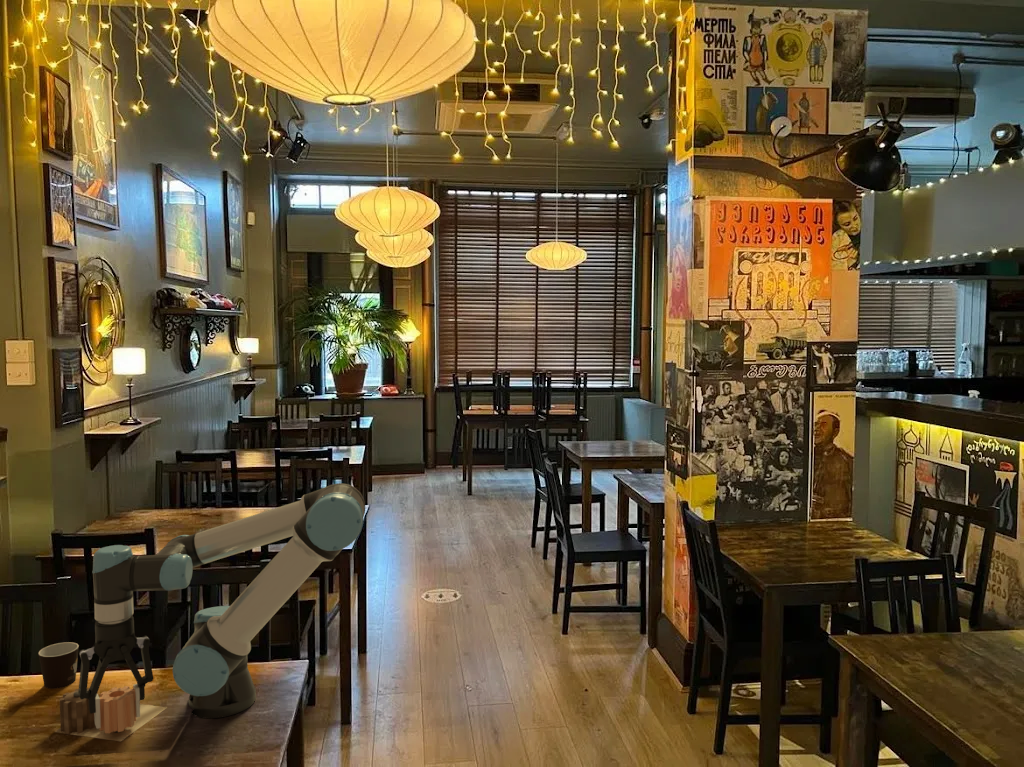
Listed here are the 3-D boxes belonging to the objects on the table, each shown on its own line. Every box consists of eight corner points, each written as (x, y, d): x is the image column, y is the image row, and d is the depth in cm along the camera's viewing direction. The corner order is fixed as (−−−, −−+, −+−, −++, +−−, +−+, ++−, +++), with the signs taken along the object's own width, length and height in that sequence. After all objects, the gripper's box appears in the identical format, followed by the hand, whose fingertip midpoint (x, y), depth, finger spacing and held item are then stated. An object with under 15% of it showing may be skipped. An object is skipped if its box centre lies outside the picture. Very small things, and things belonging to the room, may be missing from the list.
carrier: (167, 713, 177) (166, 686, 176) (121, 747, 162) (120, 718, 162) (105, 705, 180) (104, 679, 180) (54, 738, 166) (53, 709, 165)
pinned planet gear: (104, 719, 171) (103, 687, 170) (80, 736, 164) (79, 702, 163) (78, 716, 172) (77, 683, 172) (52, 732, 165) (51, 698, 165)
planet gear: (132, 713, 171) (131, 683, 170) (138, 726, 165) (138, 695, 165) (96, 723, 166) (95, 692, 166) (102, 736, 161) (101, 704, 160)
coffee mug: (61, 698, 184) (60, 658, 183) (31, 694, 186) (29, 655, 185) (96, 676, 195) (95, 639, 195) (68, 673, 197) (66, 636, 196)
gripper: (159, 603, 173) (162, 700, 175) (58, 623, 161) (62, 727, 163) (167, 612, 167) (170, 713, 169) (63, 634, 155) (67, 742, 157)
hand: (117, 720), depth 166 cm, fingers closed on planet gear, 7 cm apart
